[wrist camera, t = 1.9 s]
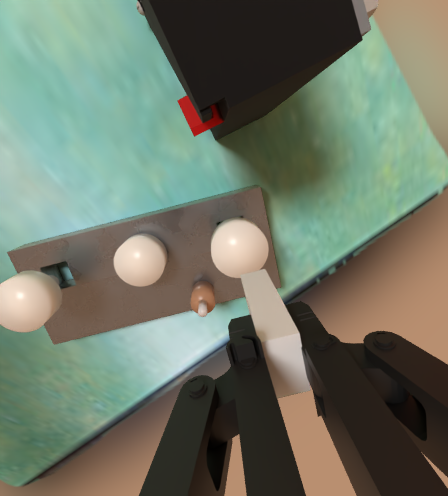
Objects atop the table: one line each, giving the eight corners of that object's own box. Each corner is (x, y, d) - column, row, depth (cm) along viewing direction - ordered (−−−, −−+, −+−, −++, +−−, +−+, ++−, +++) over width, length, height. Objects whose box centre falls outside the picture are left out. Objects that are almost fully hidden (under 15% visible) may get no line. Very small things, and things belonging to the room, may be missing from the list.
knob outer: (216, 263, 31) (219, 284, 25) (204, 218, 29) (204, 231, 24) (262, 251, 31) (273, 270, 25) (252, 206, 29) (262, 216, 24)
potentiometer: (195, 303, 34) (193, 326, 29) (189, 283, 33) (186, 304, 28) (216, 298, 34) (218, 320, 29) (211, 278, 33) (211, 298, 28)
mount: (65, 330, 37) (53, 344, 34) (24, 244, 33) (7, 252, 31) (275, 277, 37) (281, 287, 34) (256, 184, 33) (260, 187, 30)
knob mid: (136, 271, 35) (123, 291, 29) (121, 233, 33) (106, 246, 28) (175, 261, 35) (170, 279, 29) (163, 222, 33) (155, 234, 28)
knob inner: (38, 308, 31) (4, 338, 26) (18, 266, 30) (-23, 289, 24) (83, 296, 31) (57, 324, 26) (64, 254, 29) (33, 274, 24)
